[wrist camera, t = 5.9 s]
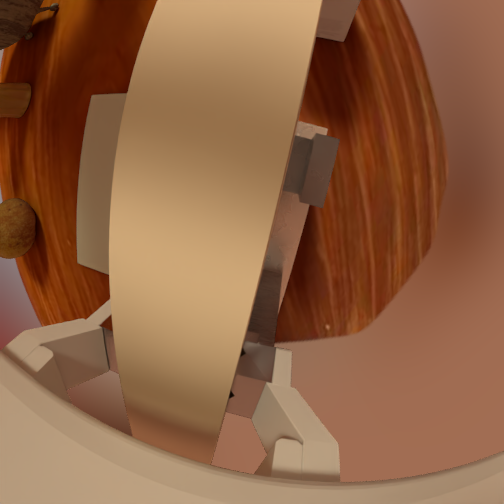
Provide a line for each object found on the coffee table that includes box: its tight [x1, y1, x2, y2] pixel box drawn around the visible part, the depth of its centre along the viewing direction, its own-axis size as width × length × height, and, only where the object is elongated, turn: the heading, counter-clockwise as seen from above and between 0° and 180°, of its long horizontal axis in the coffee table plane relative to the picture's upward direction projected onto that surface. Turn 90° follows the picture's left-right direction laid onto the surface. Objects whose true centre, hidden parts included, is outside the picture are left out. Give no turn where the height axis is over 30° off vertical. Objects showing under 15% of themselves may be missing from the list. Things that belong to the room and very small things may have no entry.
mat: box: [77, 93, 127, 275], centre depth 28 cm, size 22×12×1 cm, turn 168°
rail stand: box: [245, 121, 340, 347], centre depth 20 cm, size 20×8×15 cm, turn 168°
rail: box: [109, 0, 323, 465], centre depth 7 cm, size 20×3×3 cm, turn 168°
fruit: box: [0, 198, 36, 259], centre depth 26 cm, size 9×9×12 cm
